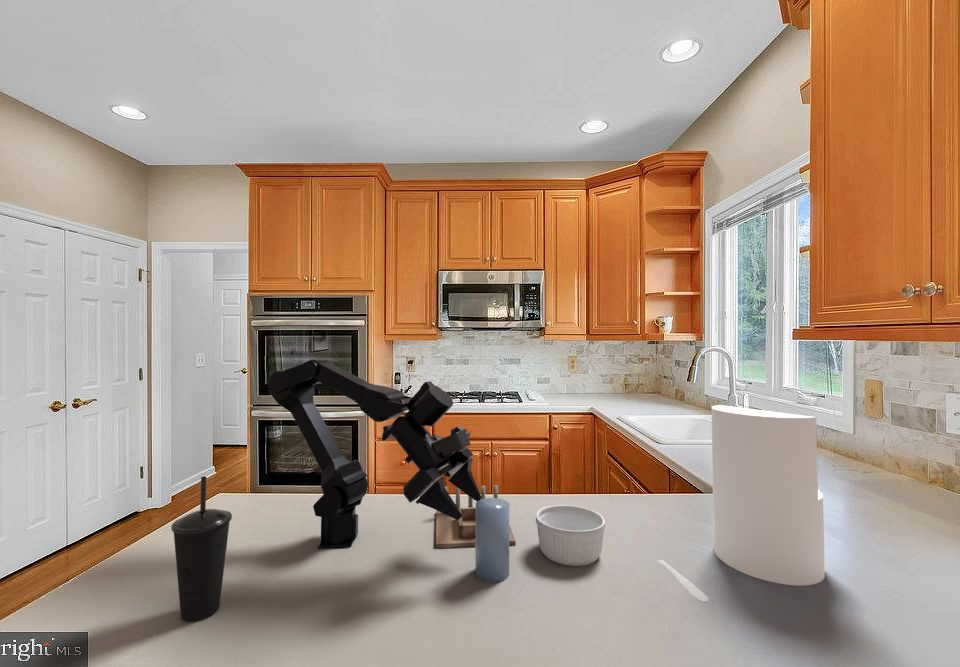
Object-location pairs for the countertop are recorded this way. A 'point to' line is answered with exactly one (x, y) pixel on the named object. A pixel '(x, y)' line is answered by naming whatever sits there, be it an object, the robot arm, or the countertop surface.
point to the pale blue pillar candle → (492, 540)
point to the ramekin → (570, 534)
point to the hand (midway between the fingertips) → (470, 508)
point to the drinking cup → (200, 559)
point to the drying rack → (461, 525)
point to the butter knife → (686, 583)
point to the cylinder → (767, 495)
